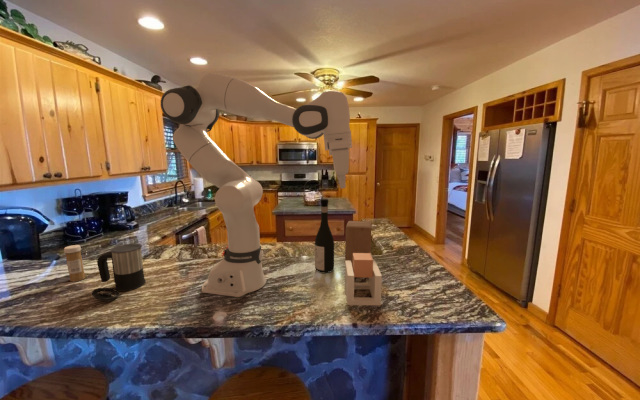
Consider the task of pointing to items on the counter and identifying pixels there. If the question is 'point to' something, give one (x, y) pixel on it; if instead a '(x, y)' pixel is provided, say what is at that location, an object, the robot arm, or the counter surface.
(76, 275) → the pill bottle
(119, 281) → the milk frother
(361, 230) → the wooden block
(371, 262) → the block
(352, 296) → the chute
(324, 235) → the wine bottle
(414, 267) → the counter surface
